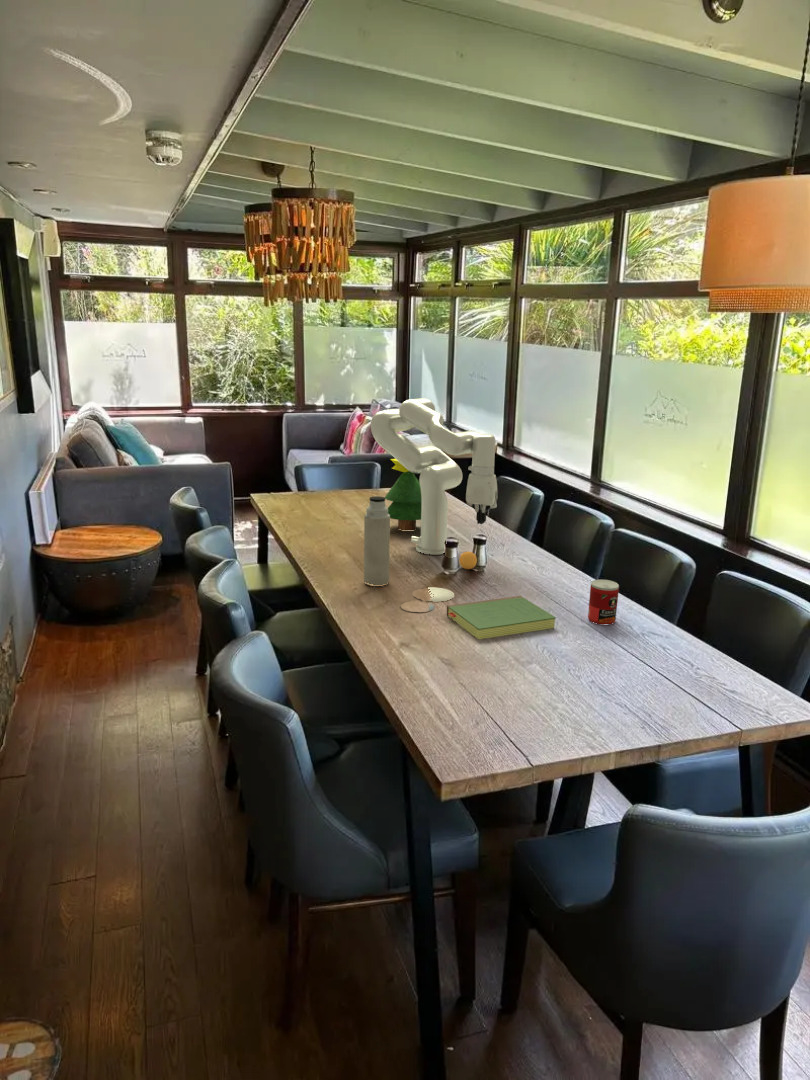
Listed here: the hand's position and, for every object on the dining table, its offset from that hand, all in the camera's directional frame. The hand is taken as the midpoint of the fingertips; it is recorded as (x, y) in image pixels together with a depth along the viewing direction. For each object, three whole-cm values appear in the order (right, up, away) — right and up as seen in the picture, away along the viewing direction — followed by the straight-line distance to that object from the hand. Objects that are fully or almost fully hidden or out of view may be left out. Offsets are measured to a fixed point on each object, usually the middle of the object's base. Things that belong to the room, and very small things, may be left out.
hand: (481, 523), depth 269 cm
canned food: (+30, -29, -48) cm, 63 cm away
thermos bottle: (-35, -20, -21) cm, 46 cm away
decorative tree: (-26, -2, +45) cm, 52 cm away
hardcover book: (0, -30, -51) cm, 59 cm away
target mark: (-18, -23, -30) cm, 42 cm away
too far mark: (-23, -25, -41) cm, 53 cm away
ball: (-5, -13, -5) cm, 15 cm away
